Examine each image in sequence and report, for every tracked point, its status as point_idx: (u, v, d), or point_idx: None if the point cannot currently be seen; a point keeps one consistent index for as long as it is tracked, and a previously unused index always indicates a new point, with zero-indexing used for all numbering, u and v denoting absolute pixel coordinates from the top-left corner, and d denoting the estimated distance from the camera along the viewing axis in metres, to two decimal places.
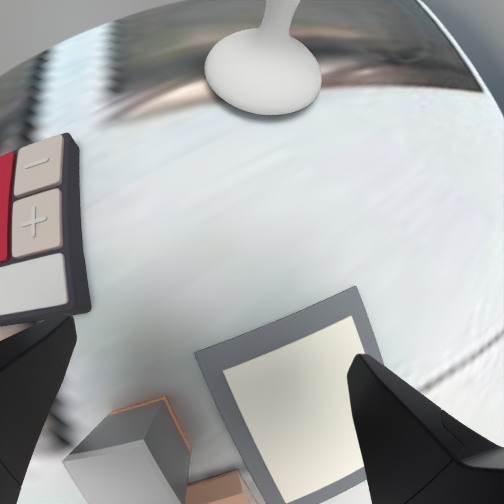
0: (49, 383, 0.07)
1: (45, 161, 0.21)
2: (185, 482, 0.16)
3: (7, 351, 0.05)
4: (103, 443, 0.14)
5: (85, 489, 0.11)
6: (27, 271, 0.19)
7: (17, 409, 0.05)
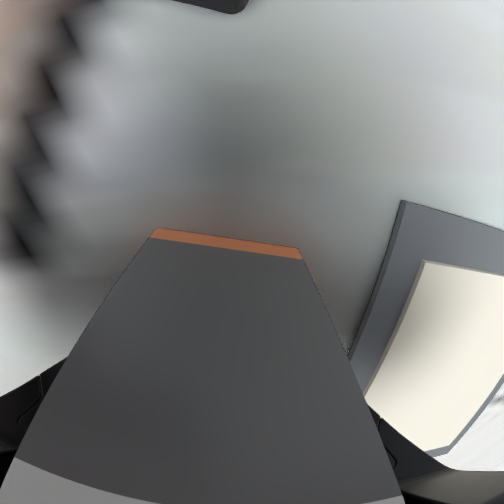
0: None
1: None
2: None
3: None
4: (187, 443, 0.03)
5: None
6: None
7: None
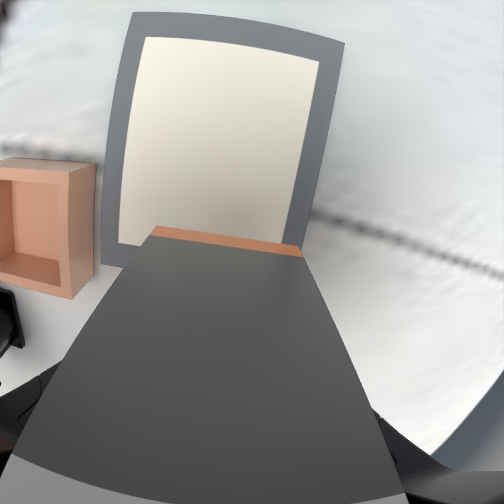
0: None
1: None
2: None
3: None
4: (186, 439, 0.03)
5: None
6: None
7: None
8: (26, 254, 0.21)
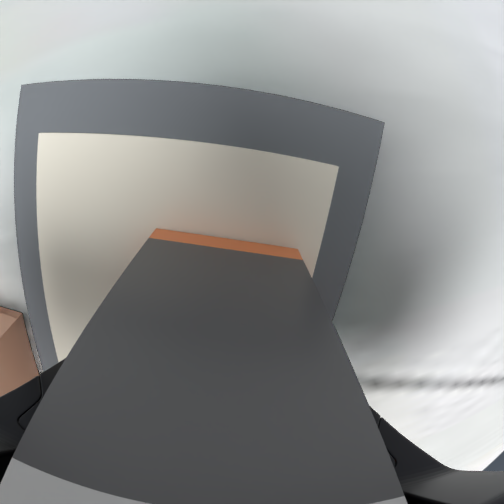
0: None
1: None
2: None
3: None
4: (187, 443, 0.03)
5: None
6: None
7: None
8: None
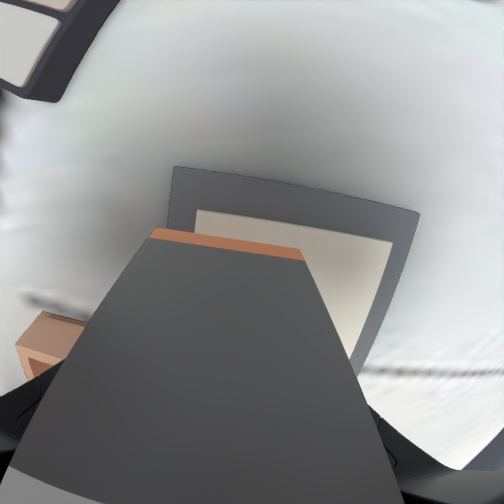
0: None
1: None
2: None
3: None
4: (185, 453, 0.03)
5: None
6: (11, 21, 0.09)
7: None
8: None
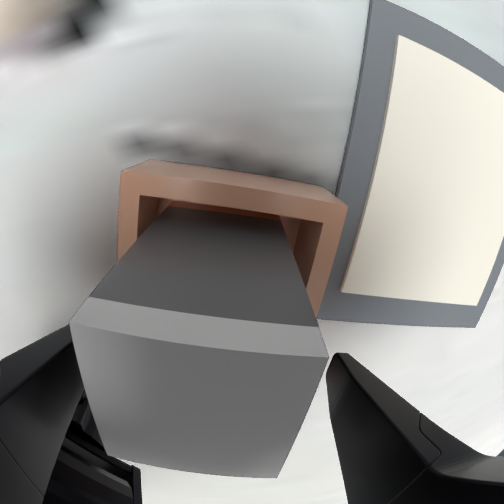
0: (72, 390, 0.07)
1: None
2: None
3: (31, 360, 0.06)
4: (191, 289, 0.07)
5: (102, 393, 0.06)
6: None
7: (41, 419, 0.05)
8: None
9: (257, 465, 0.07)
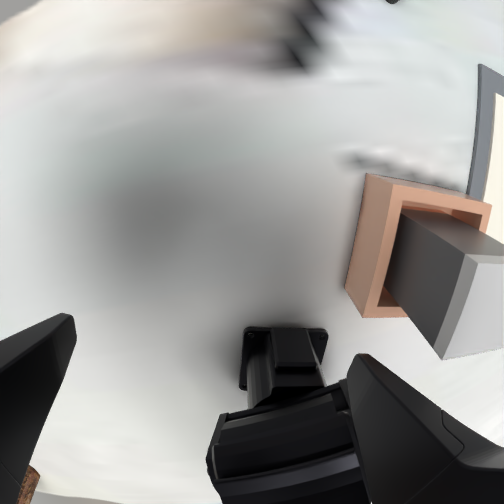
0: (49, 383, 0.07)
1: None
2: None
3: (7, 351, 0.05)
4: (482, 248, 0.12)
5: (471, 303, 0.11)
6: None
7: (17, 409, 0.05)
8: None
9: (502, 337, 0.12)
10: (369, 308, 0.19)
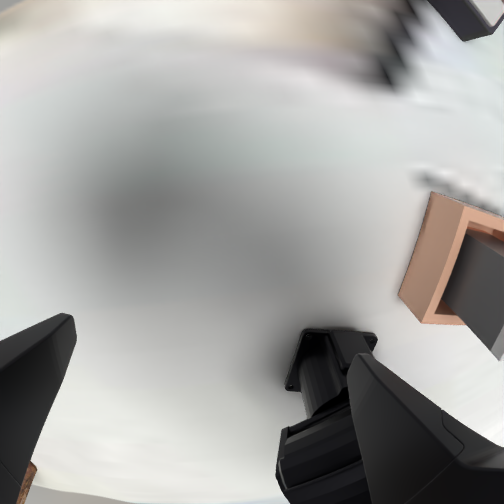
0: (49, 383, 0.07)
1: None
2: None
3: (7, 351, 0.05)
4: None
5: None
6: None
7: (17, 409, 0.05)
8: None
9: None
10: (428, 315, 0.19)
